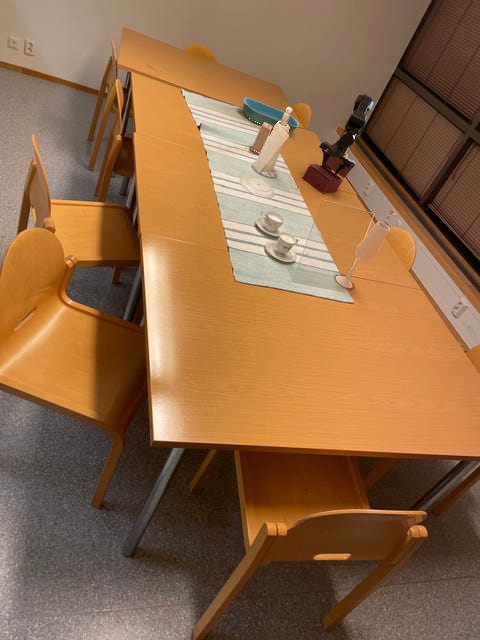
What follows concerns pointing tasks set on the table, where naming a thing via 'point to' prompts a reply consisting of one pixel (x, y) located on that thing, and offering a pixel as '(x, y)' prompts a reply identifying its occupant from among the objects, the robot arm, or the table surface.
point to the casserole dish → (265, 114)
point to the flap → (334, 164)
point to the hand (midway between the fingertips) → (328, 170)
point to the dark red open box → (322, 178)
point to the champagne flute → (366, 249)
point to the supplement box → (261, 137)
